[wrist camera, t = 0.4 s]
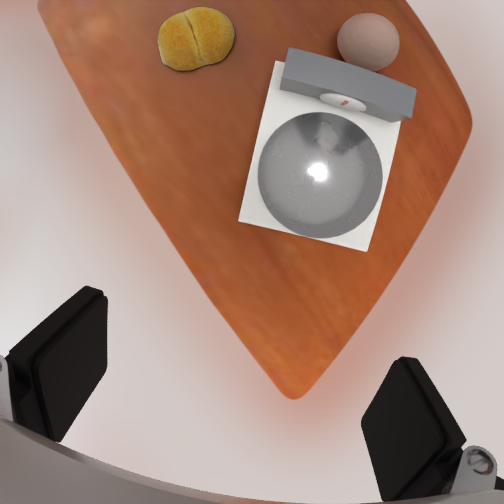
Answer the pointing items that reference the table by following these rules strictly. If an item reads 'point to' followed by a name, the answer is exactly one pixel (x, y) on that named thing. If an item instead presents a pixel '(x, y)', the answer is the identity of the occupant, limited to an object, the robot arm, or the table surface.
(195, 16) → the bread roll
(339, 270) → the table surface
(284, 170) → the scale pan
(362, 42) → the egg
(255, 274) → the table surface
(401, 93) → the kitchen scale
